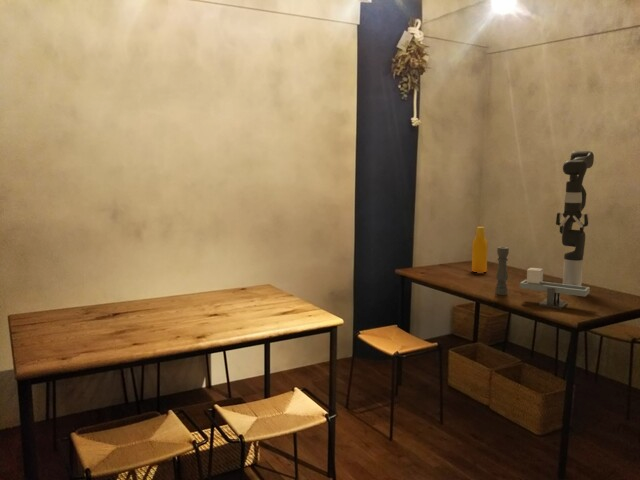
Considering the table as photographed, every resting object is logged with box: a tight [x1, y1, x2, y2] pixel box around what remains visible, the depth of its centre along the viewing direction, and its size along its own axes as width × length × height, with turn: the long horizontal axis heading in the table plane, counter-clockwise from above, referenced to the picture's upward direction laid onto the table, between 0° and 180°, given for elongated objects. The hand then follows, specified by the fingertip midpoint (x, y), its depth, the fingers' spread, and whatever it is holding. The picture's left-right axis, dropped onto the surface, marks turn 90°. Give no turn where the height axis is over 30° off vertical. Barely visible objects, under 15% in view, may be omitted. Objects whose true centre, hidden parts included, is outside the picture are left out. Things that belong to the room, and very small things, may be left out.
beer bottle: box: [471, 226, 488, 273], centre depth 336 cm, size 9×9×29 cm
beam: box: [519, 279, 591, 298], centre depth 258 cm, size 9×30×3 cm, turn 52°
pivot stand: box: [538, 288, 568, 310], centre depth 259 cm, size 12×10×9 cm
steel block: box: [526, 267, 544, 285], centre depth 263 cm, size 6×6×8 cm
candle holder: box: [494, 246, 510, 296], centre depth 280 cm, size 6×6×25 cm
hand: (571, 234), depth 261 cm, fingers open, 8 cm apart
